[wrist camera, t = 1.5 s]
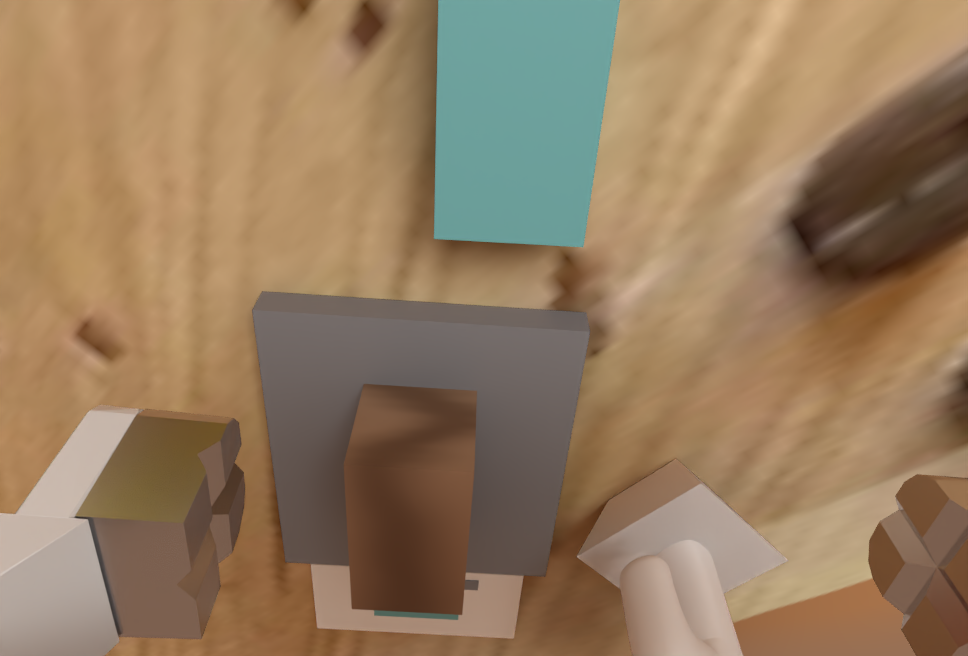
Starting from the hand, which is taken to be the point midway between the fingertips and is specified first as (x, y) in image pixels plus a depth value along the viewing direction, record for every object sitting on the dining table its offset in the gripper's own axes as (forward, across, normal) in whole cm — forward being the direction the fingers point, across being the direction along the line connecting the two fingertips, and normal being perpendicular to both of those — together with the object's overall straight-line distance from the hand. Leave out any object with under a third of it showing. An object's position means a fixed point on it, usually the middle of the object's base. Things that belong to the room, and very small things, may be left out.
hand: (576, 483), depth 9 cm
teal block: (+20, 0, 0) cm, 20 cm away
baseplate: (+20, +2, +18) cm, 27 cm away
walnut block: (+19, +2, +18) cm, 26 cm away
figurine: (+20, -11, +20) cm, 31 cm away
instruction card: (+20, +1, +30) cm, 36 cm away
